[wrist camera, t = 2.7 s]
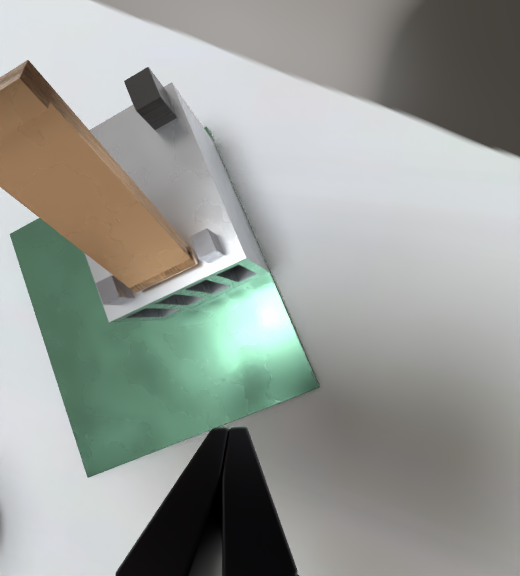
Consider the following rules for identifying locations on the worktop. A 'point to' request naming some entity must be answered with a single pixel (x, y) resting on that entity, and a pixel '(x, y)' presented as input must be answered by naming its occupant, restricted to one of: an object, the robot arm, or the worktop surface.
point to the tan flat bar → (81, 185)
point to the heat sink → (163, 301)
